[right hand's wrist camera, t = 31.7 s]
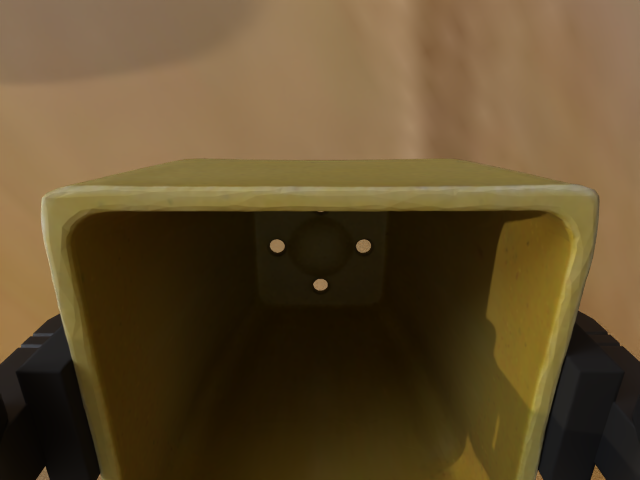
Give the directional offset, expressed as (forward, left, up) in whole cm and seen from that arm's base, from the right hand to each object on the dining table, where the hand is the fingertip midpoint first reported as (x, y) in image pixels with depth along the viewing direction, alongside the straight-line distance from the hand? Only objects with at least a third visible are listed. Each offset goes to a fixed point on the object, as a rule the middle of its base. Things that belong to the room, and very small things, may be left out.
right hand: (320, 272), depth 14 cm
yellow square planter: (0, 0, -3) cm, 3 cm away
